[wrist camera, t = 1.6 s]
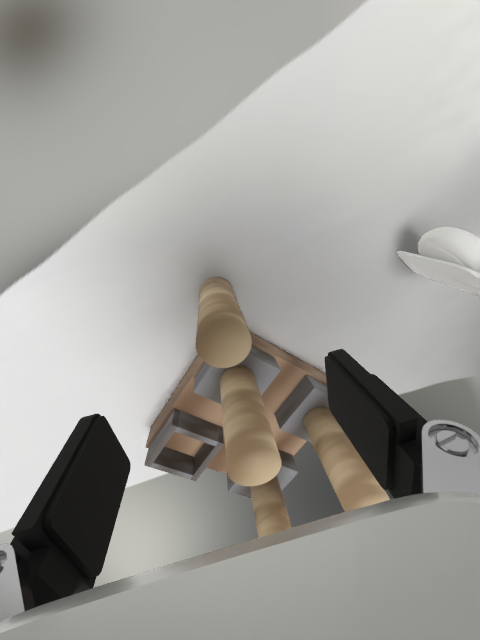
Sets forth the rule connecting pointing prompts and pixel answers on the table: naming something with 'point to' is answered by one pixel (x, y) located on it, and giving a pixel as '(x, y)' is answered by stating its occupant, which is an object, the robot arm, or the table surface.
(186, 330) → the table surface
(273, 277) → the table surface
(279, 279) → the table surface
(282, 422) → the stool
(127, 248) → the table surface
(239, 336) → the oak leg
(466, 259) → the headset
